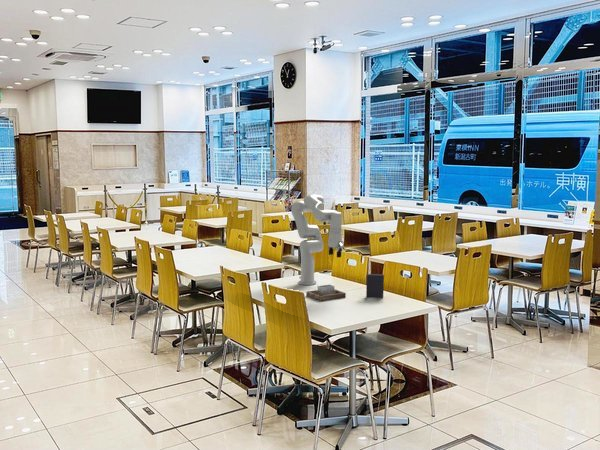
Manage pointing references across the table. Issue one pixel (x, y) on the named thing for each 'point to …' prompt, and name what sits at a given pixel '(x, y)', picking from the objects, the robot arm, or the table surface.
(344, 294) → the tray
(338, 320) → the table surface
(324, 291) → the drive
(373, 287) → the calculator
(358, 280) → the table surface
